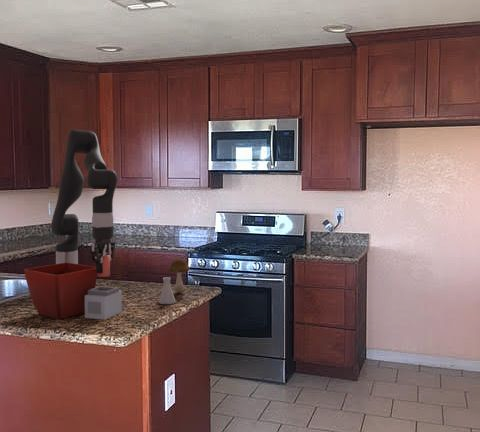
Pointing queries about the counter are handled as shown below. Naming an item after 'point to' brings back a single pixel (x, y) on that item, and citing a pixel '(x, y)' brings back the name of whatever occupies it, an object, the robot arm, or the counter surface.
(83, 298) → the plant pot
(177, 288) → the mushroom
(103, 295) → the grey box device
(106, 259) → the pink cylinder white tip
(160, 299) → the flask
